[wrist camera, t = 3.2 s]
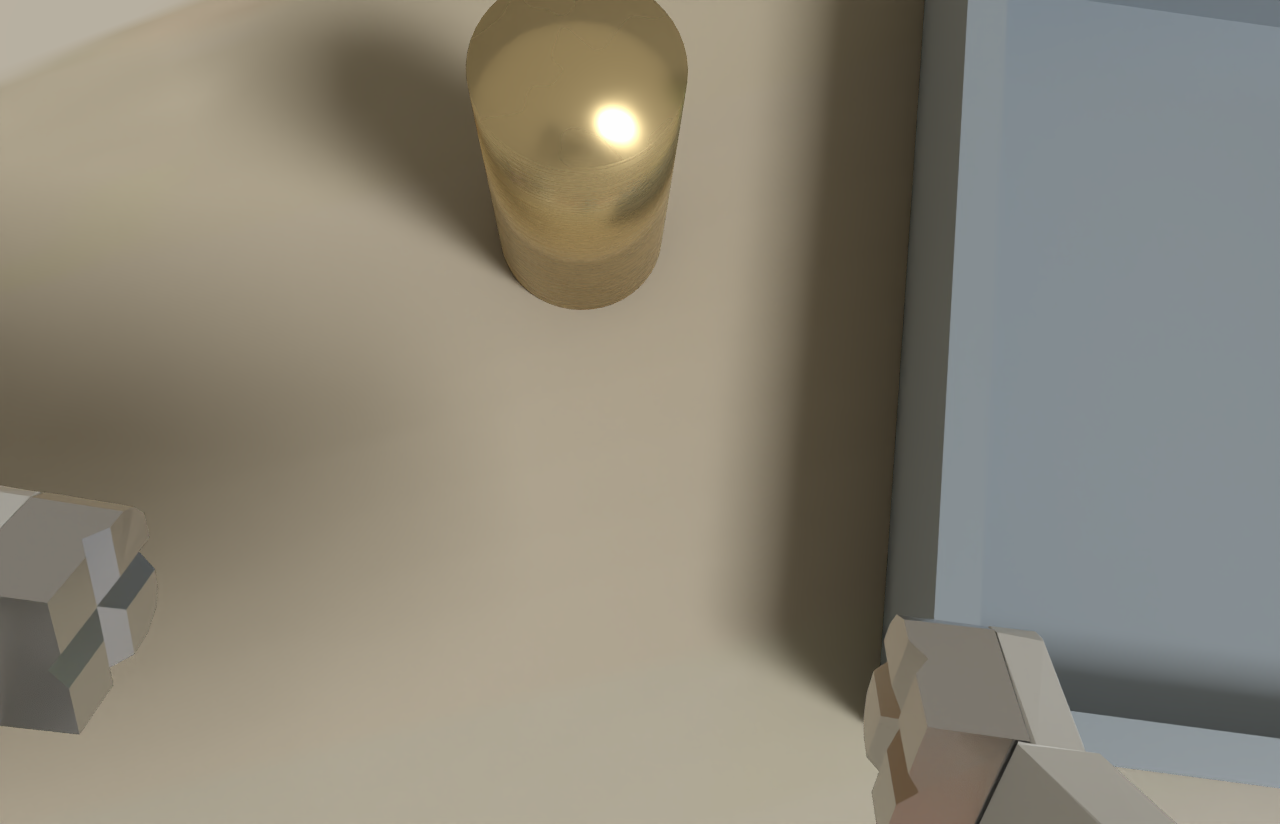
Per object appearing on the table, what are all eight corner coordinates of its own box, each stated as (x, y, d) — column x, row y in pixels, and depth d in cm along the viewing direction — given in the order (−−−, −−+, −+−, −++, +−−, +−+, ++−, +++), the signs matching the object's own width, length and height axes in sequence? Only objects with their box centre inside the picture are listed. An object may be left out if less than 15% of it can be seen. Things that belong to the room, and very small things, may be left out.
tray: (1515, 815, 25) (1680, 841, 22) (876, 731, 25) (927, 742, 21) (1452, 41, 31) (1575, -49, 27) (926, -33, 31) (975, -134, 27)
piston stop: (650, 320, 28) (674, 182, 20) (488, 297, 28) (448, 151, 20) (670, 172, 29) (699, -13, 21) (514, 150, 29) (485, -43, 21)
